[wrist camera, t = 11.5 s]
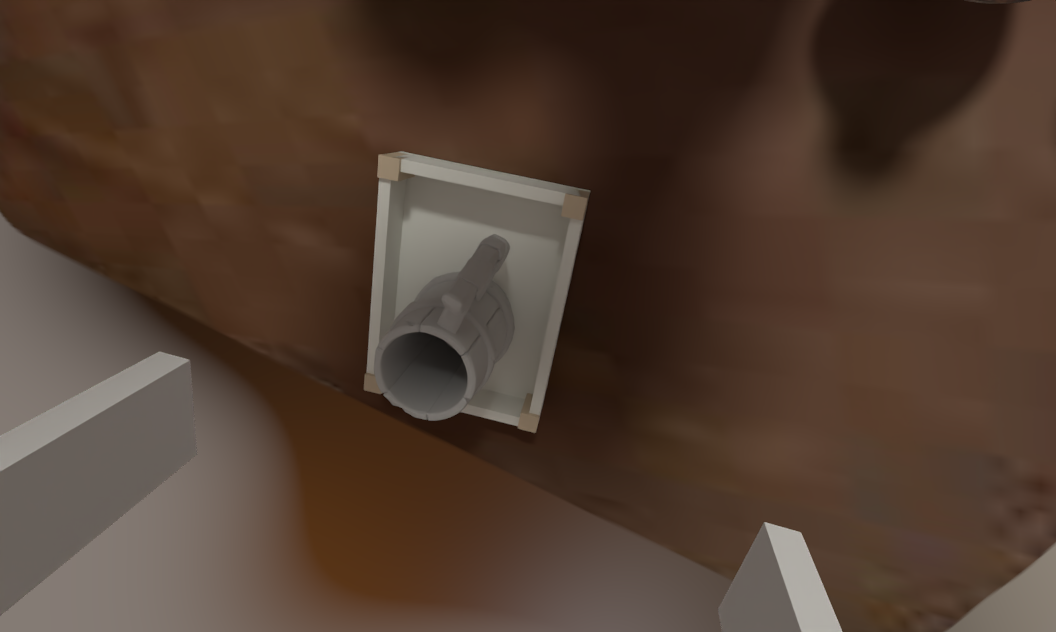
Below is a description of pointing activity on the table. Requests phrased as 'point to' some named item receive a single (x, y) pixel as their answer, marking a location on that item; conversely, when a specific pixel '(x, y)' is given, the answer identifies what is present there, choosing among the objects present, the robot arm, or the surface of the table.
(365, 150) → the table surface
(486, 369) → the mug
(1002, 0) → the pottery
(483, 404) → the crate
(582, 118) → the table surface
